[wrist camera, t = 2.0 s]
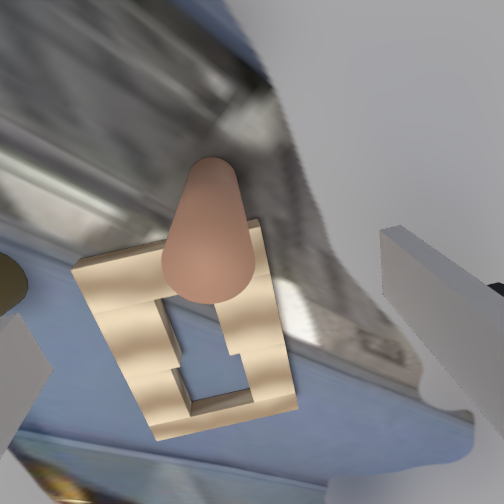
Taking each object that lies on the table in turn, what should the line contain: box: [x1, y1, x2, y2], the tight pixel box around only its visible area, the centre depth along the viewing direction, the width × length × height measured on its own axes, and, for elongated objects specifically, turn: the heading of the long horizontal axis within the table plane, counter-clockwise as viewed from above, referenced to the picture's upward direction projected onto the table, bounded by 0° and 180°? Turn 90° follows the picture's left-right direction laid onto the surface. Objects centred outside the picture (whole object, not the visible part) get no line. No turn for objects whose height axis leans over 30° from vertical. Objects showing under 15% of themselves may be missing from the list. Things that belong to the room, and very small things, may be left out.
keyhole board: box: [71, 219, 299, 441], centre depth 34 cm, size 22×16×2 cm
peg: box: [161, 157, 255, 304], centre depth 21 cm, size 4×4×15 cm
